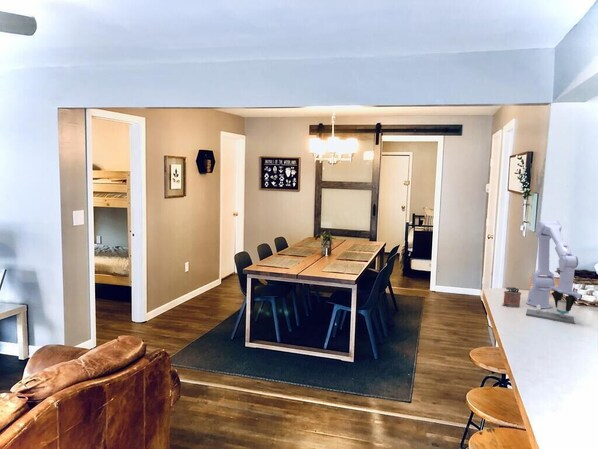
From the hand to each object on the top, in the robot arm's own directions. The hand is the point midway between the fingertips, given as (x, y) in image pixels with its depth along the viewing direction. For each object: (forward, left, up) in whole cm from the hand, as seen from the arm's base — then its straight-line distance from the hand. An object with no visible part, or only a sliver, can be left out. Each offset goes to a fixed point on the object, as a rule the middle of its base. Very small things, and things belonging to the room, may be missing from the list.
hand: (562, 309), depth 219 cm
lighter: (-23, -7, -5) cm, 25 cm away
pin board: (-4, -3, -5) cm, 7 cm away
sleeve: (0, 0, -1) cm, 1 cm away
